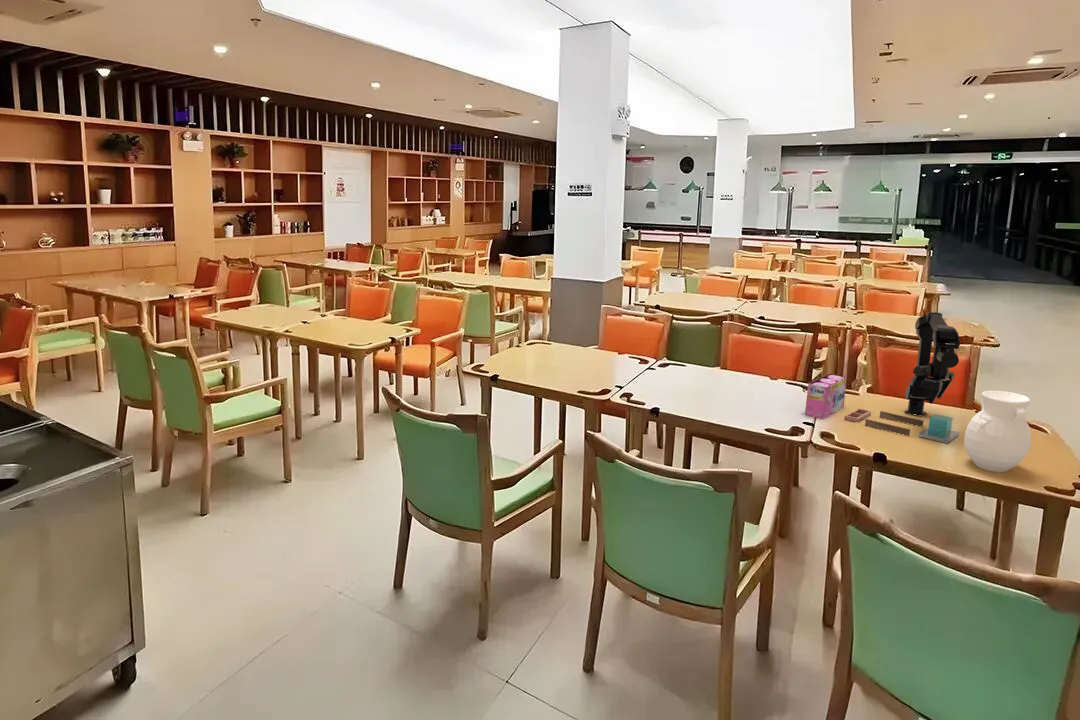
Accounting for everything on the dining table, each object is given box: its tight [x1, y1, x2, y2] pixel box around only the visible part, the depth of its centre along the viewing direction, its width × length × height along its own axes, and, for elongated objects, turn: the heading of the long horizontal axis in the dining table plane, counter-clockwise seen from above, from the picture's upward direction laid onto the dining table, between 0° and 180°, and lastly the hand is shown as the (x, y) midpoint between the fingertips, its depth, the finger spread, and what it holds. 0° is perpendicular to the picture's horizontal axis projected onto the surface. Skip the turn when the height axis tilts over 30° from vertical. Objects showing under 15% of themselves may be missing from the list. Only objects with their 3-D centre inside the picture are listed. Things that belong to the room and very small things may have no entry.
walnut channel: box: [864, 410, 924, 437], centre depth 273 cm, size 16×16×2 cm
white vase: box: [963, 389, 1032, 473], centre depth 231 cm, size 19×18×25 cm
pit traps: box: [844, 408, 872, 423], centre depth 283 cm, size 14×5×2 cm, turn 135°
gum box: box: [804, 373, 848, 420], centre depth 290 cm, size 24×8×14 cm, turn 137°
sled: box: [917, 413, 960, 444], centre depth 262 cm, size 13×10×7 cm
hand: (934, 400), depth 265 cm, fingers open, 9 cm apart
